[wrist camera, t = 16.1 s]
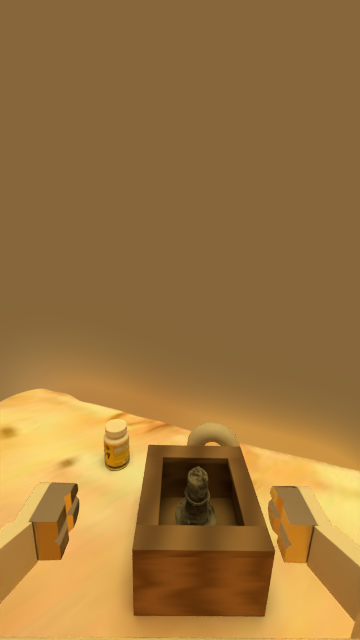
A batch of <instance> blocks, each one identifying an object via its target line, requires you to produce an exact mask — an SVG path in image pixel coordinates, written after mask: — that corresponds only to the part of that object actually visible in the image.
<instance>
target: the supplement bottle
mask: <svg viewBox="0 0 360 640" xmlns="http://www.w3.org/2000/svg"><path fill="white" fill-rule="evenodd" d="M104 451H105V464H106V466H107V468H108V469H110V470H120V469H122V468H124V467H125V466H126V465H127V464H128V462H129V433H128V431H127V424H126V422H125V421H124V420H122V419H114V420H111V421H109V422H108V423H107V424H106V426H105V435H104Z"/></svg>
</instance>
